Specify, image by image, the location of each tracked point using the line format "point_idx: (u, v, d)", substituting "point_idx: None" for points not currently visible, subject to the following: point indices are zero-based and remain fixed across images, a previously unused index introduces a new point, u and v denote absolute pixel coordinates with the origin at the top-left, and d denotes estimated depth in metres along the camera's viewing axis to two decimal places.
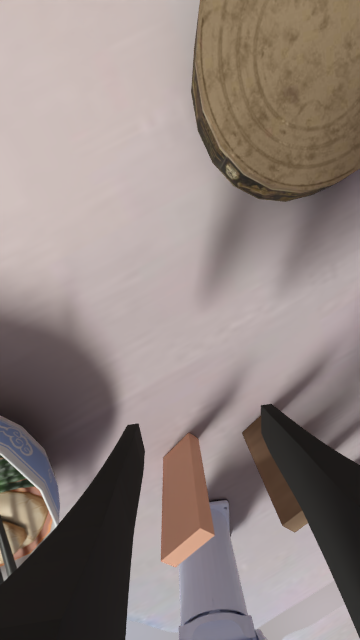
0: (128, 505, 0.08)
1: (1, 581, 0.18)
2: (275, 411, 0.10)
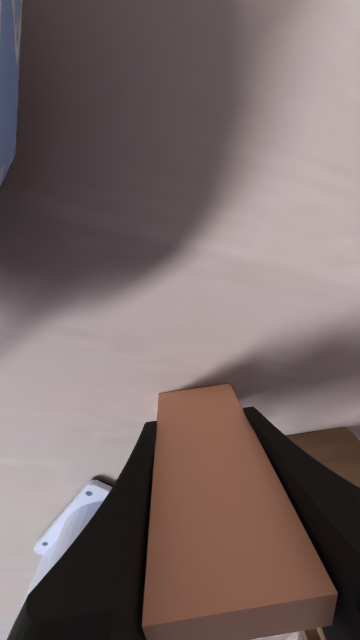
0: None
1: None
2: (256, 414, 0.10)
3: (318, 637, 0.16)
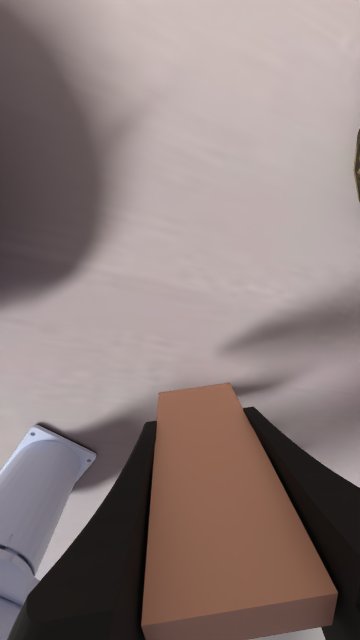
0: None
1: None
2: (256, 414, 0.10)
3: None
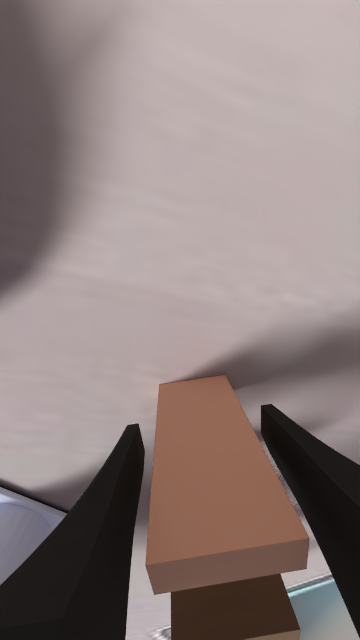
0: (128, 505, 0.08)
1: None
2: (275, 411, 0.10)
3: None
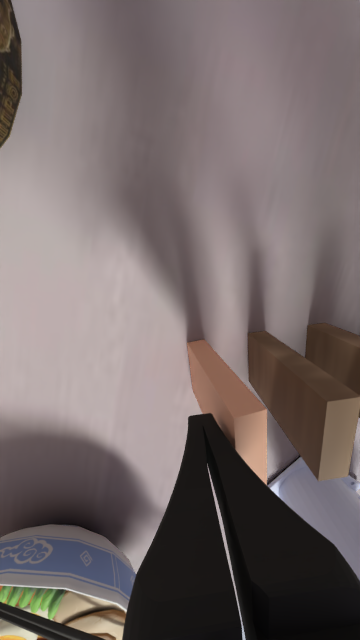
0: None
1: None
2: (209, 421, 0.10)
3: None
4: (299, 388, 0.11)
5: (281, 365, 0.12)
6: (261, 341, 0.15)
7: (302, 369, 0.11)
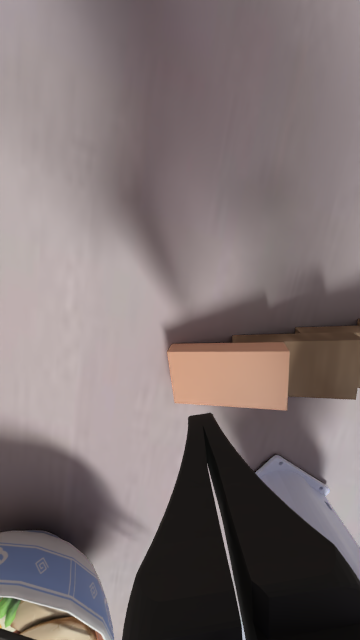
0: None
1: None
2: (209, 421, 0.10)
3: None
4: (333, 348, 0.14)
5: (306, 343, 0.15)
6: (257, 340, 0.16)
7: (318, 337, 0.15)
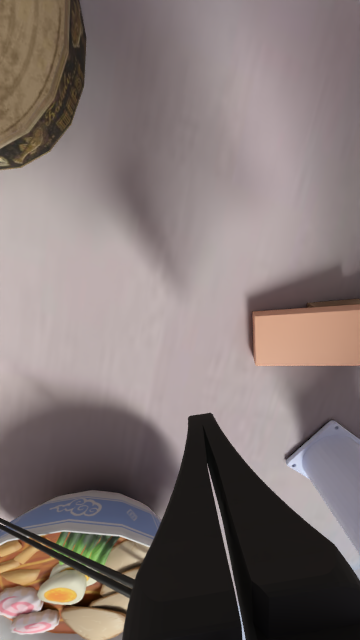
0: None
1: None
2: (209, 421, 0.10)
3: None
4: None
5: None
6: (337, 304, 0.17)
7: None
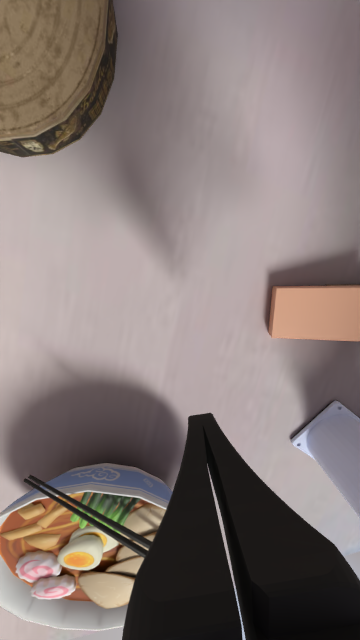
0: None
1: None
2: (209, 421, 0.10)
3: None
4: None
5: None
6: (355, 285, 0.18)
7: None
